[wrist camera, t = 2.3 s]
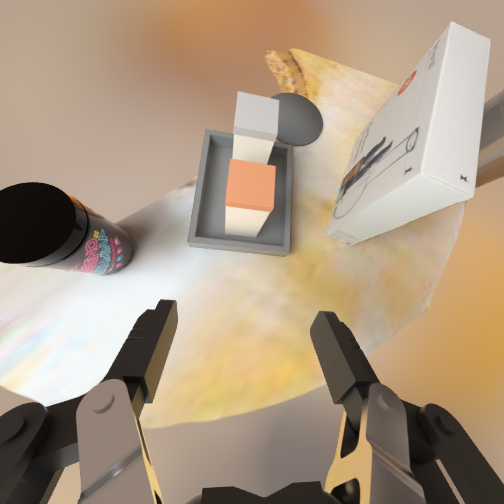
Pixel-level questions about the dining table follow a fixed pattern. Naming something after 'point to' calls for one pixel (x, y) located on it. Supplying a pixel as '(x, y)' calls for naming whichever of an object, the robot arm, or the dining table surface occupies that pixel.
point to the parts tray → (214, 194)
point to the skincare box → (418, 143)
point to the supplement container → (58, 232)
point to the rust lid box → (248, 197)
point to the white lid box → (255, 127)
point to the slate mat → (297, 120)
